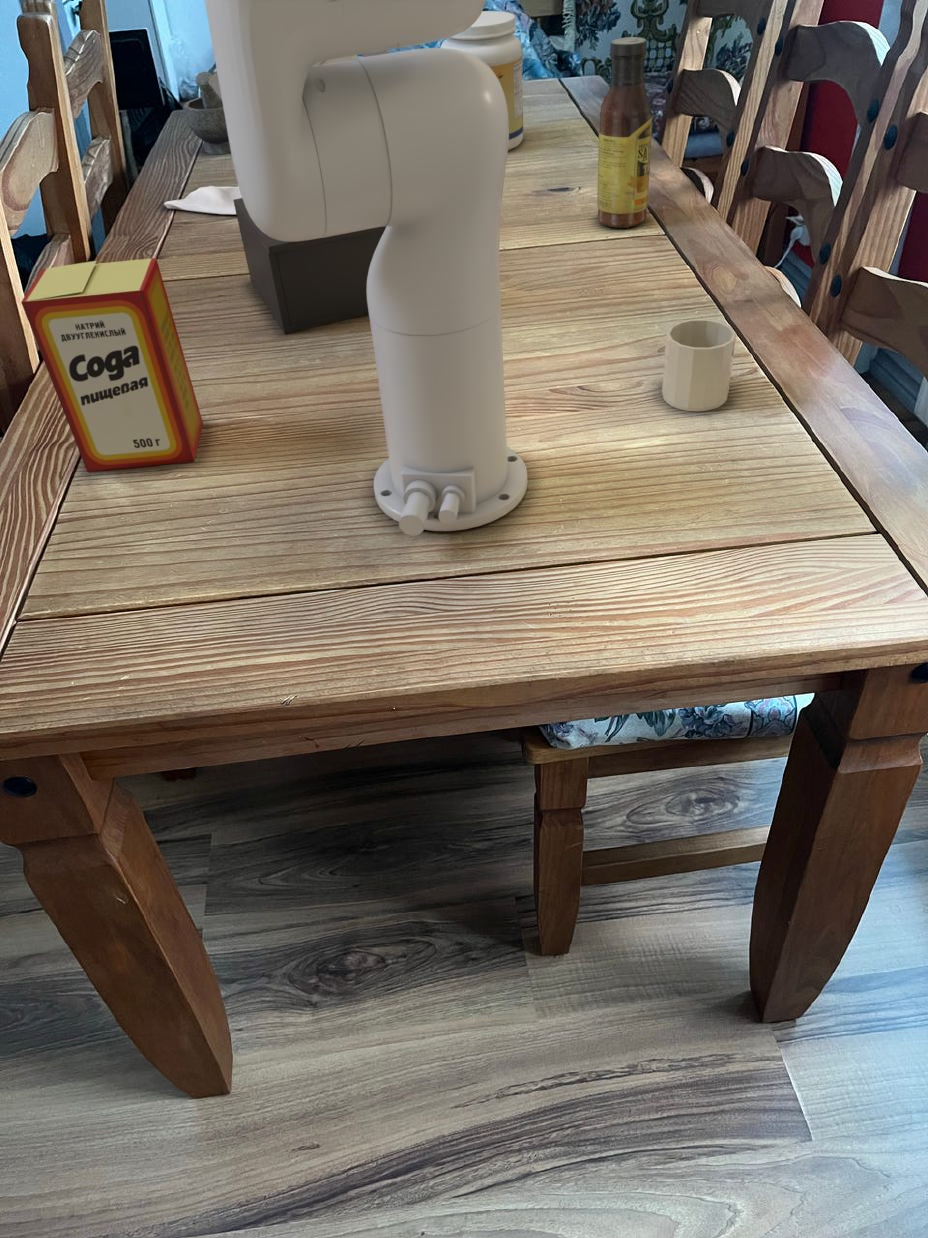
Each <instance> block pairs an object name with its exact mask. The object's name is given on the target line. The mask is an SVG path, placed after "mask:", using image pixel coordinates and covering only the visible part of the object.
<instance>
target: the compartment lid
mask: <svg viewBox="0 0 928 1238" xmlns="http://www.w3.org/2000/svg"><path fill="white" fill-rule="evenodd" d="M233 201H234V206H235V208H236V209H237V210H238V212H239V213H240V215H241V216H242V217H243V219H244V220H245V221H246V223H247V224H248V225H249V227H250V228H251V230H252V231H253V232H254V234H255V235H256V236H257V238H258V239H259V240H260V242H261V243H262V245H263V246H264V247H265V249H266V250H267V251H268V253H269V254H270V255H271V254H275V253H280V252H285V251H289V250H294V249H299V248H303V247H308V246H312V245H317V244H322V243H326V242H331V241H335V240H340V239H345V238H349V237H354V236H359V235H363V234H368V233H372V232H377V231H382V230H385V229H386V227H387V226H386V227H383V226H381V227H376V228H371V229H366V230H361V231H356V232H351V233H346V234H340V235H335V236H330V237H325V238H318V239H312V240H305V241H295V242H287V241H280V240H276V239H273V238H271V237H269V236H267V235H266V234H264V233H263V232H262V231H261V230H260V229H259V228H258V227H257V226H256V225H255V223H254V222H253V220H252V219H251V217H250V215H249V213H248V211H247V209H246V207H245V204H244V201H243V199H242V198H239V199H234V200H233Z"/></svg>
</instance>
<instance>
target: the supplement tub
mask: <svg viewBox="0 0 928 1238" xmlns="http://www.w3.org/2000/svg"><path fill="white" fill-rule="evenodd" d="M516 31H517V25H516V17H515V14H513V13H512V12H507V11H499V10H482V12H481V15H480V16H479V18H478V19H477V20H476V22H475V23H474V24H473V25H472V26H470V27H469V28H468V29H466V30H465V31H463V32H461V33H459V34H457V35H454V36H452V37H449V38H445V39H444V40H443V41H442V43H441V45H440V47H439V48H447V49H455V50H460V51H463V52H466V53H469V54H471V55H473V56H475V57H477V58H479V59H480V60H481V61H483V62H484V63H485V64H487V65H488V66H489V67H490V68H491V70H492V71H493V72H494V74H495V75H496V77H497V78H498V80H499V82H500V84H501V87H502V89H503V92H504V95H505V99H506V103H507V109H508V119H509V142H508V151H510V150H512V149H514V148H516V147H518V146H519V145H520V144H521V143H522V140H523V139H524V131H525V130H524V105H523V103H524V101H523V100H524V99H523V49H522V48H523V46H522V43H521V41H520V39H519V38H518V36H516V35H514V34H515V32H516Z"/></svg>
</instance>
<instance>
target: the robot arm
mask: <svg viewBox="0 0 928 1238" xmlns="http://www.w3.org/2000/svg"><path fill="white" fill-rule="evenodd" d="M486 3H487V0H204V4H205V11H206V17H207V22H208V28H209V33H210V34H209V35H210V39H211V45H212V50H213V57H214V62H215V67H216V72H214V73H213V74H212V76H211V77H210V78H209V85H210V86H211V88H212V89H213V90H214V92H215V93H216V95H217V96H218V97H219V99H220V100H221V101H222V103H223V109H224V114H225V120H226V126H227V132H228V138H229V144H230V149H231V159H232V164H233V169H234V175H235V178H236V182H237V187H238V186H239V190H240V193H241V196H242V199H243V201H244V204H245V207H246V209H247V211H248V213H249V215H250V217H251V219H252V220H253V222H254V223H255V225H256V226H257V227H258V228H259V229H260V230H261V231H262V232H263V233H264V234H266V235H267V236H269V237H271V238H273V239H276V240H280V241H287V242H295V241H305V240H312V239H318V238H325V237H330V236H335V235H340V234H346V233H351V232H356V231H361V230H366V229H371V228H376V227H381V226H383V227H386V226H387V227H386V229H385V231H384V233H383V235H382V237H381V239H380V241H379V243H378V245H377V248H376V250H375V252H374V255H373V258H372V261H371V264H370V267H369V272H368V277H367V288H366V291H367V304H368V311H369V314H368V317H369V318H368V319H369V325H370V333H371V339H372V346H373V353H374V362H375V369H376V375H377V382H378V383H377V384H378V389H379V396H380V404H381V413H382V418H383V425H384V432H385V439H386V446H387V454H388V458H386V459H385V460H384V461H383V462H382V463H381V465H379V467H378V469H377V470H376V472H375V475H374V477H373V491H374V497H375V501H376V503H377V505H378V507H379V508H380V510H382V512H383V513H384V514H385V515H386V516H388V517H389V518H391V519H392V520H394V521H395V522H398V528H399V530H400V531H401V533H403V534H405V535H407V536H409V537H410V536H411V537H415V536H419V535H421V534H422V533H423V532H424V530H425V531H430V532H431V531H432V532H454V531H464V530H469V529H472V528H473V529H474V528H477V527H481V526H483V525H487V524H490V523H492V522H495V521H497V520H498V519H500V518H502V517H504V516H505V515H507V514H508V513H510V512H511V511H512V510H514V509H515V508H516V507H517V506H518V505H519V504H520V502H521V501H522V500H523V498H524V496H525V495H526V493H527V489H528V470H527V469H528V468H527V467H526V463H525V461H524V460H523V459H522V458H521V456H520V455H519V454H518V453H517V452H515V451H514V450H513V449H512V448H510V447H508V442H507V440H508V439H507V416H506V397H505V396H506V393H505V373H504V372H505V371H504V349H503V326H502V325H503V324H502V293H501V270H500V269H501V268H500V267H501V266H500V265H501V263H500V261H501V260H500V259H501V258H500V257H501V256H500V244H501V243H500V241H501V239H500V238H501V236H500V233H501V215H502V202H503V195H504V194H503V192H504V184H505V178H506V170H507V162H508V155H509V154H508V153H509V150H508V142H509V119H508V109H507V103H506V99H505V95H504V92H503V89H502V87H501V84H500V82H499V80H498V78H497V77H496V75H495V74H494V72H493V71H492V70H491V68H490V67H489V66H488V65H487V64H485V63H484V62H483V61H481V60H480V59H479V58H477V57H475V56H473V55H471V54H469V53H466V52H463V51H460V50H455V49H447V48H440V47H426V48H415V49H408V50H402V51H395V52H389V51H392V50H396V49H403V48H409V47H414V46H420V45H426V44H429V43H434V42H438V41H442V40H446V38H449V37H452V36H454V35H457V34H459V33H461V32H463V31H465V30H466V29H468V28H469V27H470V26H472V25H473V24H474V23H475V22H476V20H477V19H478V18H479V16H480V15H481V12H482V11H484V8H485V5H486ZM359 56H362V57H359Z"/></svg>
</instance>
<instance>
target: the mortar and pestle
mask: <svg viewBox="0 0 928 1238" xmlns="http://www.w3.org/2000/svg"><path fill="white" fill-rule="evenodd" d="M212 75H213V74H212V73H211V72H209V71H201V72H199V73H198V74H197V75H196V76H195V82H196V85H197V86H198V87H199V91H200V96H199V97H195V98H193V99H191V100H189V101H186V102H184V105H183V111H184V116H185V119H186V122H187V124H188V127H189V128H190V129H191V131H192V132H193V133H194V136H196V137H198V139H200V140H201V141H202V142H204V144H203V146H204V152H205V153H206V154H210V155H225V154H230V153H231V149H230V144H229V138H228V132H227V126H226V120H225V114H224V109H223V103H222V101H221V100H220V99H219V97H218V96H217V95H216V93H215V92H214V90H213V89H212V88H211V86H210V85H209V78H210V77H211V76H212Z"/></svg>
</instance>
